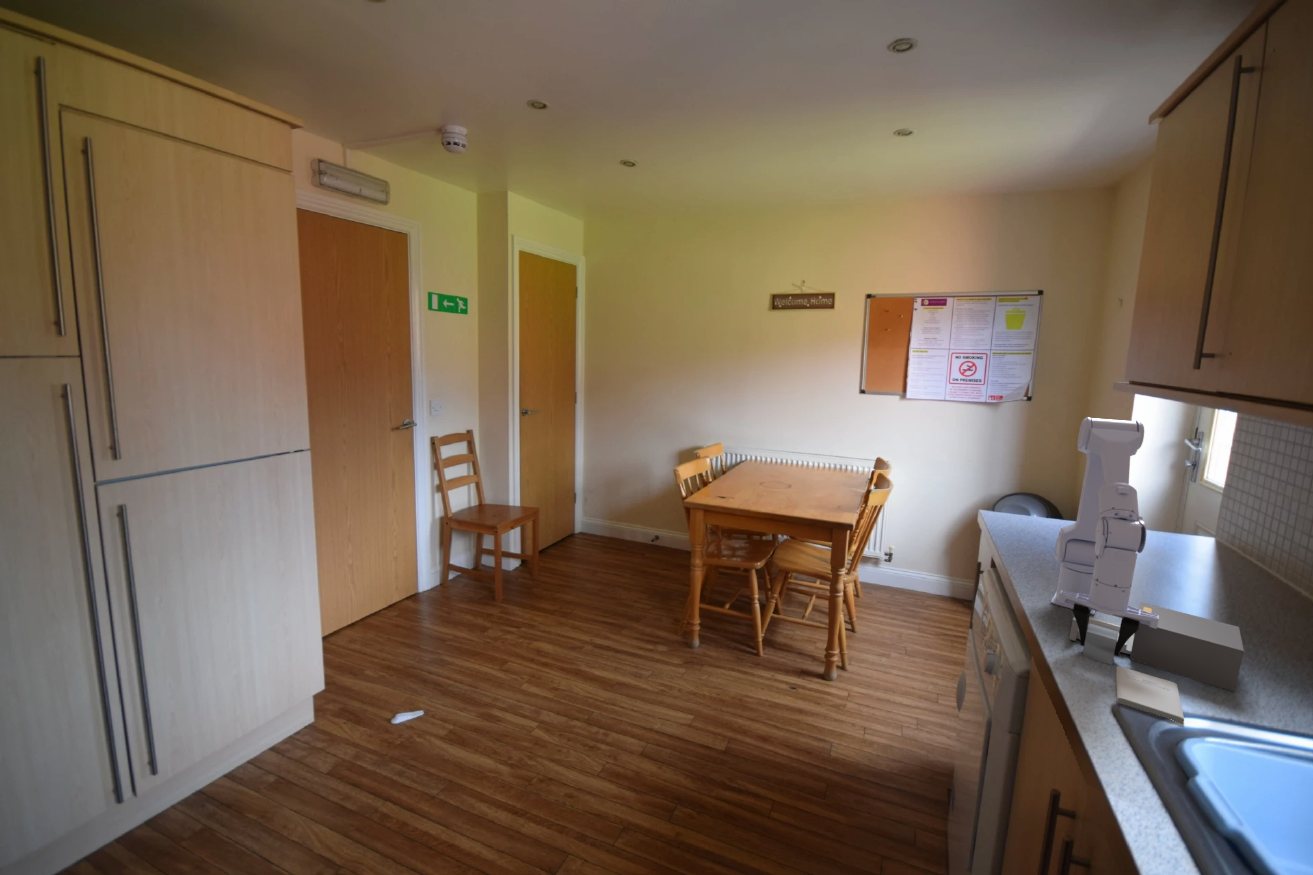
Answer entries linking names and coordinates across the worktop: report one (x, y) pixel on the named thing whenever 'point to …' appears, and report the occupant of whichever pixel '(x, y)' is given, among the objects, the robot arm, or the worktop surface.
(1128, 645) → the tray
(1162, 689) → the external hard drive
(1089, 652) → the block
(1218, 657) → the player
